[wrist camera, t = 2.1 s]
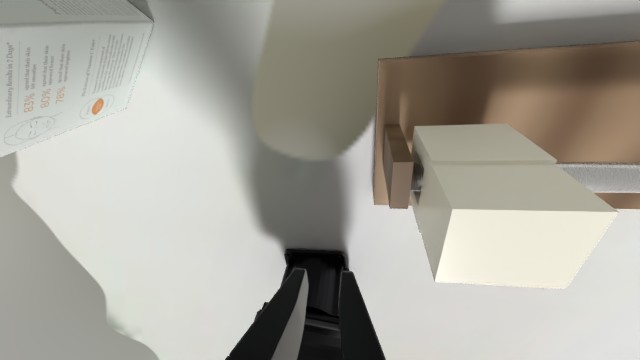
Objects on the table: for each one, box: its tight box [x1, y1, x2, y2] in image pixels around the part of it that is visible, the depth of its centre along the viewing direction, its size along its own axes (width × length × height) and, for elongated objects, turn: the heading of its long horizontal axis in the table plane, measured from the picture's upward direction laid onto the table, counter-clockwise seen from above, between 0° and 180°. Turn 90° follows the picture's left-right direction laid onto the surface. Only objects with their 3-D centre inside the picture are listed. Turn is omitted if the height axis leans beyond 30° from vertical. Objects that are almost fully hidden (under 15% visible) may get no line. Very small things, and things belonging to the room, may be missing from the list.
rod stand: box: [373, 41, 640, 209], centre depth 15 cm, size 22×11×8 cm, turn 95°
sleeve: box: [410, 123, 619, 289], centre depth 13 cm, size 5×4×8 cm
